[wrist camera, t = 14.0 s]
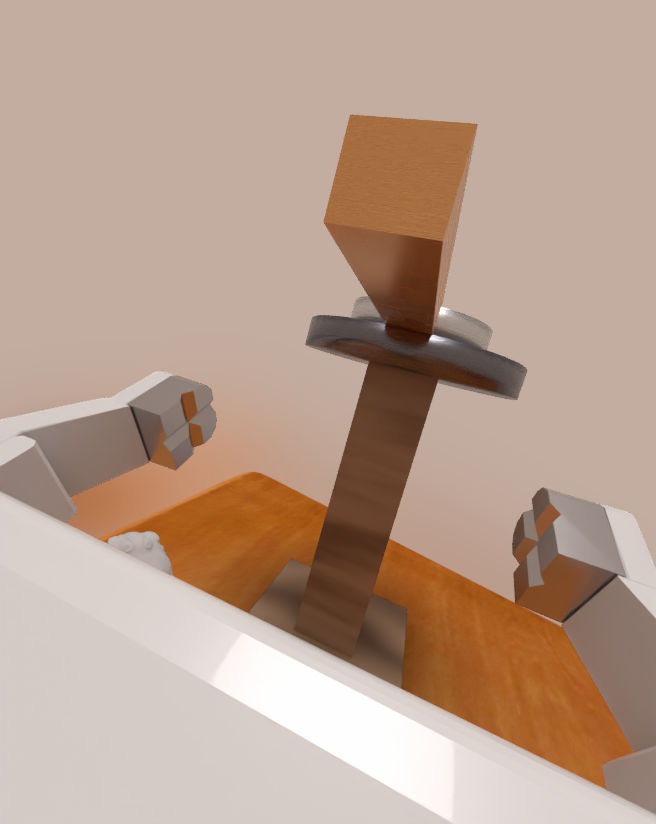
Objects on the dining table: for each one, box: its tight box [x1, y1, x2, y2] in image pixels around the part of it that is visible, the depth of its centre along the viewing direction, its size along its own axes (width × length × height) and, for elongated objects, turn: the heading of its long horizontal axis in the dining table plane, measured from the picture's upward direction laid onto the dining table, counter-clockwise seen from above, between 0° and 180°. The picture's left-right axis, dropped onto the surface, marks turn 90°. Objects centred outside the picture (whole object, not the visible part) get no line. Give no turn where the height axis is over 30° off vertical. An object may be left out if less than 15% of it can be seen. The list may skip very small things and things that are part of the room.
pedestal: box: [249, 315, 527, 688], centre depth 28 cm, size 16×16×26 cm
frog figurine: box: [107, 532, 173, 576], centre depth 25 cm, size 6×7×7 cm
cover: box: [324, 115, 493, 350], centre depth 19 cm, size 24×10×2 cm, turn 163°
